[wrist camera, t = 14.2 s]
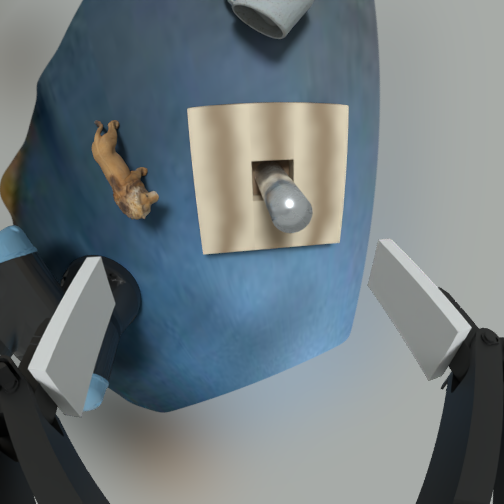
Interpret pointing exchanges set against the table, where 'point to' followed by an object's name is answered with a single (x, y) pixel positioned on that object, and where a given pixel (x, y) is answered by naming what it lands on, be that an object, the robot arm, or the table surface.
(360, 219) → the table surface
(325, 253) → the table surface
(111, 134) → the lion figurine
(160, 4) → the table surface
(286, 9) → the ceramic mug
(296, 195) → the metal peg
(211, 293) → the table surface
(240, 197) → the maple block
